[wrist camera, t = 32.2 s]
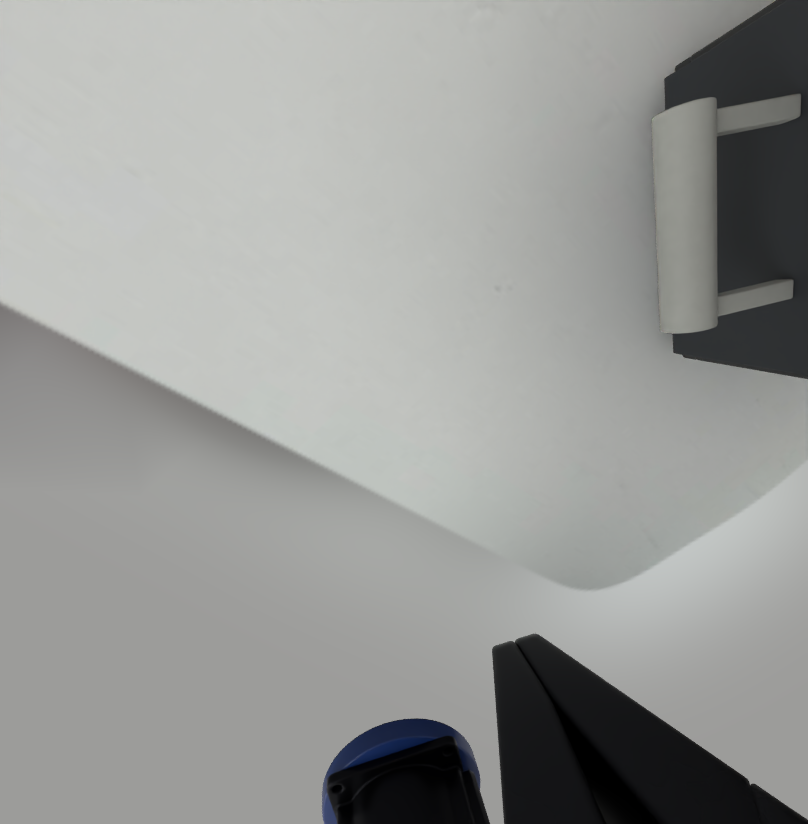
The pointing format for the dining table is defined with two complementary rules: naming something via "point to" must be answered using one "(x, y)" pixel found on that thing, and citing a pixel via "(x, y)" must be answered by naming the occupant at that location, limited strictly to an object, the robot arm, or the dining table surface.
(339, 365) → the dining table surface
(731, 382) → the dining table surface
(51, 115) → the dining table surface
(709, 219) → the drawer
